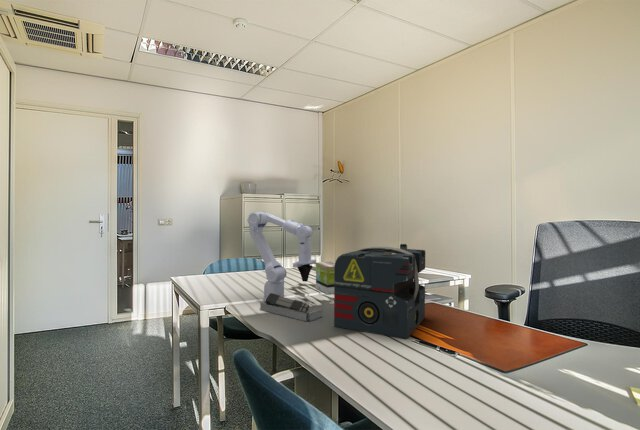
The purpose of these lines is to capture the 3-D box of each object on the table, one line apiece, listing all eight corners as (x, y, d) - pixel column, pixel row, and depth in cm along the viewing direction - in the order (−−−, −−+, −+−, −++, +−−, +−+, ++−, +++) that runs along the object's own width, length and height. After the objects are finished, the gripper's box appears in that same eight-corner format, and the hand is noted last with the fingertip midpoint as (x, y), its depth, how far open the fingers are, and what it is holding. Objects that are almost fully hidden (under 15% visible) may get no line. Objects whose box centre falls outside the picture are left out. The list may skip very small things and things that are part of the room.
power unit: (333, 326, 135) (334, 246, 135) (361, 308, 160) (361, 241, 159) (407, 340, 122) (408, 251, 122) (425, 318, 146) (426, 244, 146)
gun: (273, 301, 163) (268, 288, 156) (312, 315, 155) (309, 303, 148) (268, 309, 160) (263, 297, 153) (308, 324, 153) (304, 312, 146)
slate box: (258, 309, 158) (258, 302, 158) (273, 305, 165) (273, 298, 165) (308, 322, 141) (308, 314, 140) (322, 316, 148) (322, 309, 148)
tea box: (315, 288, 198) (315, 262, 198) (331, 287, 203) (331, 260, 202) (327, 294, 185) (327, 266, 185) (344, 293, 189) (344, 264, 189)
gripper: (300, 254, 159) (301, 284, 159) (321, 250, 171) (321, 279, 171) (289, 253, 164) (289, 282, 164) (309, 250, 175) (309, 278, 175)
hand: (304, 281), depth 168 cm, fingers closed
